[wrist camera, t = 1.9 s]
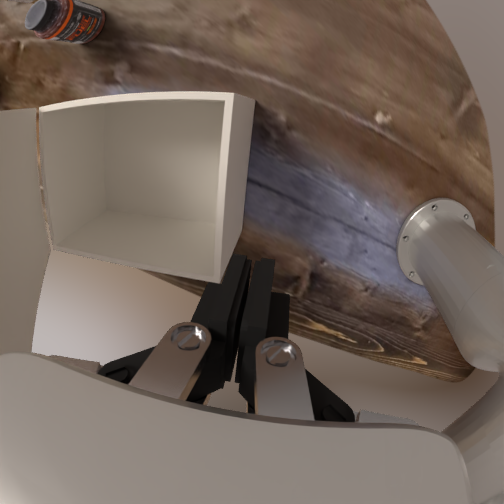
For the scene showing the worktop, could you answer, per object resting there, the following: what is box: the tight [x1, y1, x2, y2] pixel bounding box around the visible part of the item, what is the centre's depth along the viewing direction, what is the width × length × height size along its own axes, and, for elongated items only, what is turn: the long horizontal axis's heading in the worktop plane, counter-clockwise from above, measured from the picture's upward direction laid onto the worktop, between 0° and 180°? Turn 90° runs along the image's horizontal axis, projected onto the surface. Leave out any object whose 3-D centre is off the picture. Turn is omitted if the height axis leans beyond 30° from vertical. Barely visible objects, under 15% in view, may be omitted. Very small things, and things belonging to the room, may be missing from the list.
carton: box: [39, 92, 255, 283], centre depth 28 cm, size 20×16×12 cm
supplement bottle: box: [25, 0, 105, 44], centre depth 20 cm, size 6×6×11 cm
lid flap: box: [0, 108, 51, 355], centre depth 16 cm, size 20×16×1 cm
